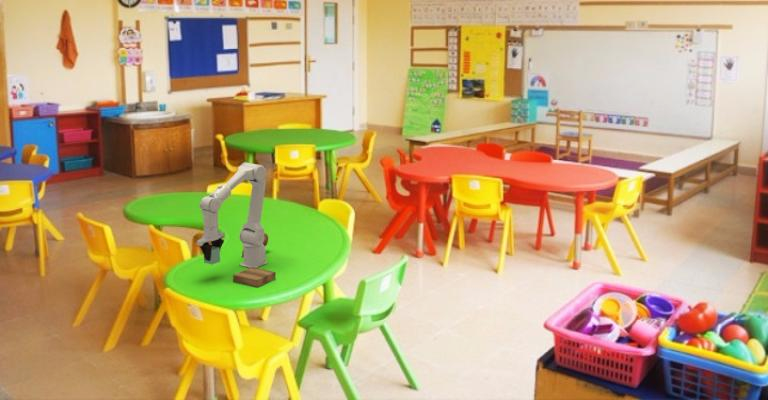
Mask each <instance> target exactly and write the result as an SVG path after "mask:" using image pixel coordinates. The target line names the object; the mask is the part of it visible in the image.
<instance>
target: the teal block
mask: <svg viewBox="0 0 768 400" xmlns="http://www.w3.org/2000/svg"><path fill="white" fill-rule="evenodd" d="M220 253H221V249H220V247H215V246H212V249H211V258H210V261H207V260H205V257H204V256H203V263H205V264H209V265H214V264H217V263H220V262H221V254H220Z"/></svg>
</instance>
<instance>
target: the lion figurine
mask: <svg viewBox="0 0 768 400" xmlns="http://www.w3.org/2000/svg"><path fill="white" fill-rule="evenodd" d="M268 242H269V234H268V233H266V232H264V242H263V244H264V246H265V247H266V246H267V245H268ZM241 258H244V246H243V248H242V252H241Z"/></svg>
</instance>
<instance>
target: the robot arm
mask: <svg viewBox="0 0 768 400" xmlns="http://www.w3.org/2000/svg"><path fill="white" fill-rule="evenodd" d="M266 179H267V169H266V168H265V166H264V165H262V164H255V163H251V162H246V161H244V162H243V163H242V164H240V165H239V166H238V167H237V171H236V172H235V173H234V174H233V175H232V176H231V177H230V178H229V180H228V181H227V182H226V183H225V184H223V183H221V184H218V185H217V188H215V189H214V190H213V191H212V192H210V193H209V195H206V196H204V197H202V198H201V200H200V203H199V207H200V209H201V213H202V218H203V221H202V224H203V235H202V237H201V238H200V239H198V240H196V245H197V246H198V247H199V248H200V250H201V251H202V254H203V258H204V257H205V260H207V261H210V258H211V249H212V246H215V247H220V250H221V249H222V246H223V244H224V242H225V240H224V238H226V233H225V232H219V211H220V210H221V206H222V205H223V203H224V202H225V201H226V200H227V199H228V198H229V197H230V196H231V194H232V190H234V189H235V188H237V186H238V185H240V184H241V183H242V182H244V181H248V182H249V183H250V184H251V193H250V200H249V207H248V213H247V220H246V222H245V223H244V224H242V227H241V231H240V233H239V236H238V238H239V241H240V242H242V245H243V247H244V256H243V262H242V263H240V264H239V266H240V267H244V268H247V269H248V268H251V267H255V268H260V267H261V266H264V265H266V264H268V261H267V260H266V258H267V257H266V256H267V253H266V246H264V244H263V242H264V233H265V228H264V227H263V225H262V224H261V221H262V220H261V219H262V214H263V213H262V212H263V206H264V205H263V204H264V201H265V199H264V198H265V194H266V193H265V192H266V185H267V181H266Z"/></svg>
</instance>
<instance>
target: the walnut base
mask: <svg viewBox="0 0 768 400" xmlns="http://www.w3.org/2000/svg"><path fill="white" fill-rule="evenodd" d="M275 280H276V271H272V270H267V269H263V268H260V267H257V268H255V267H251V268H248V267H247V268H246V269H243V270H241V271H239V272H237V273H234V274H233V275H232V282H233V283H236V284H241V285H243V286H244V285H245V286H248V287H252V288H260V287H261V286H264V285H266V284H268V283H270V282H273V281H275Z"/></svg>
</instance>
